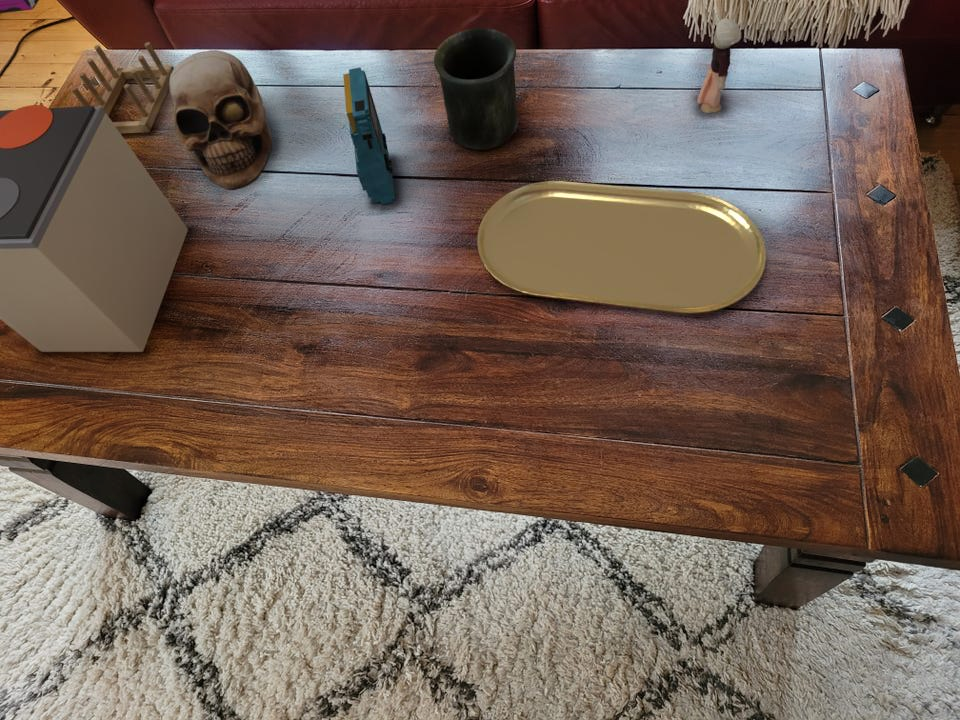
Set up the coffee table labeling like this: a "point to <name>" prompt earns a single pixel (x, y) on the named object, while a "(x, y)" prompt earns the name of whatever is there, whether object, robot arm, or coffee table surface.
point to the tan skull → (220, 117)
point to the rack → (130, 89)
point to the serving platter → (622, 246)
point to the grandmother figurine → (718, 65)
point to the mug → (479, 87)
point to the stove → (80, 233)
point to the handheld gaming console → (368, 139)
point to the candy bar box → (16, 5)
